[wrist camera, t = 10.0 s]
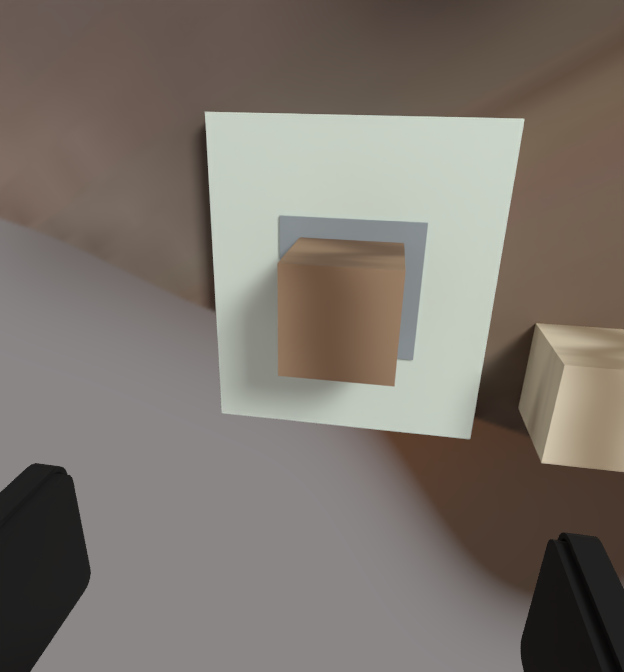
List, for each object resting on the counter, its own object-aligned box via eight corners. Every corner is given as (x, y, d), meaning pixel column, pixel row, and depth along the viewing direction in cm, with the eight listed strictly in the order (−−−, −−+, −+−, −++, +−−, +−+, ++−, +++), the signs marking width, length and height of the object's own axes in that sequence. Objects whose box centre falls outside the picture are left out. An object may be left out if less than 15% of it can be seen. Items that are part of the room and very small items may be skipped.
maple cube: (640, 330, 25) (694, 375, 21) (615, 416, 27) (659, 475, 23) (535, 322, 26) (564, 365, 21) (517, 407, 28) (541, 462, 23)
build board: (518, 119, 22) (525, 118, 21) (467, 427, 29) (470, 440, 27) (213, 112, 24) (204, 111, 23) (227, 403, 31) (220, 414, 29)
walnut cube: (404, 242, 24) (405, 270, 19) (395, 340, 26) (394, 386, 21) (299, 237, 25) (277, 263, 20) (298, 332, 27) (278, 375, 22)
